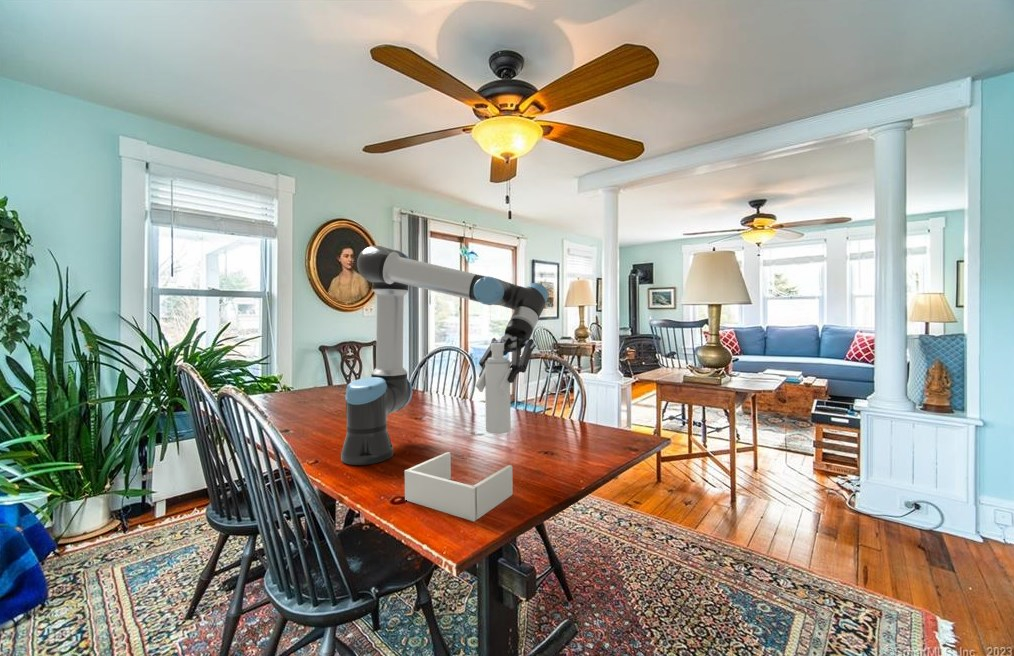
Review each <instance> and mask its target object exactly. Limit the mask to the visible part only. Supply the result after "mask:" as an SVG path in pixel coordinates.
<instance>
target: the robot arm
mask: <svg viewBox="0 0 1014 656" xmlns="http://www.w3.org/2000/svg"><path fill="white" fill-rule="evenodd" d="M357 257H358V258H357V261H356V266H357V271H358V273H359V274H360V276H361V277H362V278H363V279H364V280H366V281H368V282H369V283H372V284H371V287H372V288H371V289H372V290H371V291H372V292H373V293H375V295H376V341H375V343H376V347H375V348H376V349H375V350H376V351H375V352H376V354H375V355H376V356H375V360H376V361H375V363H376V365H375V368H374V369H373V370H372V371H371V372H370V375H371V377H370V376H369V377H365V378H359V379H356V380H353V381H350V382H349V384H347V386H346V389H345V396H344V398H345V408H346V411H345V412H346V415H345V416H346V436H345V438H344V443H343V446H342V449H341V452H340V461H341V462H342V463H344V464H347V465H351V466H364V465H366V466H367V465H374V464H379V463H381V462H385V461H387V460H389V459H391V458H392V457H393V455H394V446H393V444H392V441H391V437H390V435H389V432H388V415H390V414H393V413H395V412H398V411H400V410H403V408H405V407H406V406H407V405H408V404H409V403H410V401H411V400H412V396H413V386H412V383H411V381H409V379H408V371H407V370H406V369H405V368H404V367H403V366H404V306H405V305H404V301H405V300H404V297H405V295H406V294H408V292H409V286H411V287H415V288H419V289H424V290H427V291H431V292H435V293H436V292H437V293H441V294H444V295H448V296H453V297H457V298H461V299H465V300H470V301H473V302H477V303H480V304H483V305H487V306H501V307H504V308H508V309H511V310H514V311H513V314H511V317H510V319H509V321H508V323H507V326H506V327H505V330H504V334H503V336H502V337H500V338H498V339H496V338H495V337H493V338H492V339H491V341H490V345H489V346H488V348H487V349H486V351H485V352H484V354H483V356H482V357H481V358H480V360H479V362H478V364H479V366H480V367H481V371H480V373H479V375H478V378H479V379H478V380H477V382H476V383H475V387H476V388H477V390H478V391H479V392H480V393H483V392H484V389H485V361H487V360H488V358H492V351H491V344H492V343H504V351H503V357H505V356H507V355H508V353H512V356H511V357H512V358H511V365H510V368H508V370H507V372H506V374H505V376H504V378H503V381H502V383H501V385H500V387H499V389H500V391H501V392H502V394H505V395H506V392H507V390H508V388H509V386H510V387H511V384H513V383H514V382H515V379H516V377H517V376H518V374H519V373H523V374H524V373H525V372H526V371H527V368H528V365H529V362H530V359H531V357H532V353H533V350H534V349H535V348H536V343H535V340H533V338H531V337H532V335H533V332H534V330H535V328H536V327H537V323H538V321H539V319H540V318H541V315H542V313H543V311H544V309H545V307H546V304H547V301H548V299H549V291H548V289H547V287H545V286H544V285H543V284H541V283H539V282H534V283H533V282H530V283H529V284H528V285H527V286H526V287H524V286H521V285H520V286H519V285H517V284H514V283H511V282H507V281H505V280H502V279H499V278H495V277H493V276H486V275H482V274H478V273H477V274H476V273H473V272H469V271H464V270H459V269H454V268H452V267H451V268H450V267H446V266H442V265H437V264H432V263H429V262H425V261H420V260H415V259H411V258H410V257H409V256H408V255H407V254H405V253H404V252H403V251H399V250H397V249H391V248H387V247H385V246H382V245H369V246H368V247H365V248H364V249H363V250H361V251H360V253H359V255H358V256H357ZM522 349H523V351H522Z"/></svg>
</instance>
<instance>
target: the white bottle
mask: <svg viewBox="0 0 1014 656" xmlns="http://www.w3.org/2000/svg"><path fill="white" fill-rule="evenodd" d="M490 344H491V343H490ZM491 351H492V358H488V360H487V361H485V387H484V389H485V390H484V391H485V397H484V398H485V431H486V432H487V433H489V434H494V435H495V434H496V435H497V434H499V435H500V434H506V433H510V431H511V430H512V429H511V422H512V421H511V385H510V386H509V388H508V390H507V392H506V395H505V394H502V392H501V391H500V389H499V387H500V385H501V383H502V381H503V378H504V376H505V374H506V372H507V370H508V368H511V361H510V360H509V359H508V357H505V356H503V351H504V343H492V344H491Z"/></svg>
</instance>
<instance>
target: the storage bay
mask: <svg viewBox="0 0 1014 656" xmlns="http://www.w3.org/2000/svg"><path fill="white" fill-rule="evenodd" d="M451 456H452V455H451V452H449V451H446V452H445V453H442V454H440V455H437V456H435V457H433V458H430V459H428V460H425V461H423V462H421V463H419V464H416V465H414V466H412V467H410V468H409V467H408V468H407V469H404V501H406V500H407V502H410V503H414V504H416V505H419V506H422V507H427V508H429V509H433V510H435V511H438V512H442V513H445V514H449V515H452V516H455V517H458V518H462V519H465V520H467V521H471V522H476V521H477V520H478V519H480V518H481V517H483V516H484V515H485V514H487V513H489V512H490V511H491V510H493V509H494V508H495V507H497V506H498V505H500V504H502V503H503V502H504V501H506V500H507V499H509V498H510V497H512V495H514V494H513V493H514V492H513V490H514V489H513V488H514V487H513V480H514V479H513V465H510V464H508V465H506V466H504V467H503V468H501V469H499V470H498V471H496V472H494V473H492V474H491V475H489V476H488V477H485V478H484V479H482V480H481V481H479V482H477V483H475V484H473V485H472V484H471V485H470V484H467V483H462V482H460V481H456V480H452V475H451V474H452V473H451V472H452V468H451V467H452V466H451V465H452V464H451V463H452V462H451V460H452V459H451V458H452V457H451Z"/></svg>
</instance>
